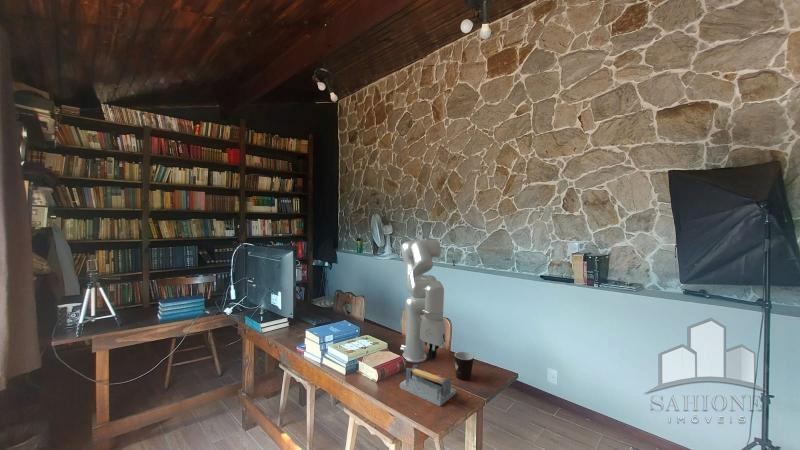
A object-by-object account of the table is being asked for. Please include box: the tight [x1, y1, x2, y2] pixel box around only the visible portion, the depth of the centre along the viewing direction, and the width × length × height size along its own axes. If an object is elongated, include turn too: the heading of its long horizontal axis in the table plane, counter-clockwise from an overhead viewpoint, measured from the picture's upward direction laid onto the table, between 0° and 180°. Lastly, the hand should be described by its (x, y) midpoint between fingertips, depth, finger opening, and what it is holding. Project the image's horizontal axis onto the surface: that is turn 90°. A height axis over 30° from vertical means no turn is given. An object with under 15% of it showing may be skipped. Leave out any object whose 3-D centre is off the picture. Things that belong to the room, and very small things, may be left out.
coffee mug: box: [454, 351, 475, 382], centre depth 152 cm, size 12×9×10 cm
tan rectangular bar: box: [411, 367, 446, 384], centre depth 138 cm, size 17×3×2 cm, turn 51°
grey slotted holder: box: [399, 363, 457, 407], centre depth 138 cm, size 20×12×8 cm, turn 51°
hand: (432, 358), depth 137 cm, fingers closed
